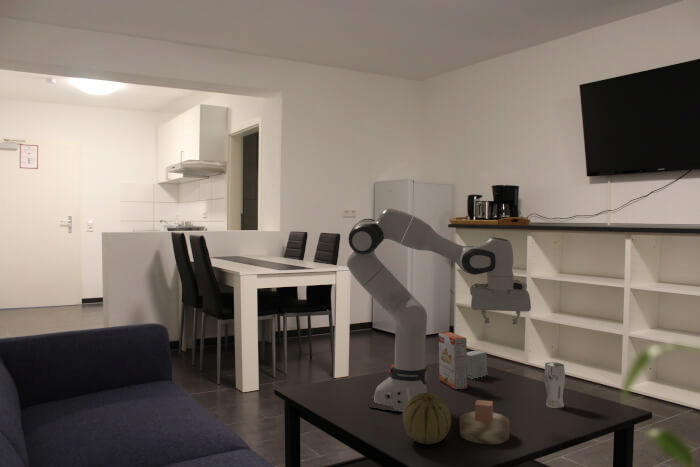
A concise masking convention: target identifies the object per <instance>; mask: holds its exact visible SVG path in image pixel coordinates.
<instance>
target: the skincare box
mask: <svg viewBox="0 0 700 467" xmlns="http://www.w3.org/2000/svg"><path fill="white" fill-rule="evenodd" d="M487 357H488V356H487V351H482V350H472V351H471V350H470V351H467V377H468V378H471V379H473V378H477V379H479V378H478V377H481V378H484V377H487V376H488V363H487V362H488V361H487V360H488V358H487ZM486 375H487V376H486ZM483 376H484V377H483ZM471 379H470V380H471Z"/></svg>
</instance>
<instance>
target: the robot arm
mask: <svg viewBox="0 0 700 467" xmlns="http://www.w3.org/2000/svg"><path fill="white" fill-rule="evenodd" d="M347 240H348V245H349V246H350V248H351V250H352V251H353V252H352V253H351V254H350V255H349V256H348V258H347V262H346V265H347V268H348V270H349V271H350V273H351V274H352V276H353V277H354V278H355V280H356V281H357V282H358V283H359V285H360V286H361V287H362V288H363V289H364V290H365V291H366V292H367V293H368V294H369V295H370V296H371V297H372V299H374V300H375V301H376V303H378V304H379V305H380V307H381V308H383V310H385V311H386V312H387V313H388V315H390V316H391V317H392V319H394V320H395V321H394V322H395V335H394V337H395V338H394V364H392V365H390V368H389V369H388V374H389V377H387V378H386V379H385V380H384V381H382V382H381V383H380V384H378V385H377V386H376V388H375V391H374V396H373V397H374V402H375V403H378V404H383V405H387V406H391V407H393V408H394V409H395V410H399V411H403V412H404V408H405V406H406V404H407V403H408V402H409V400H410V399H411V398H412V397H414V396H416V395H418V394H421V393H428V389H427V382H428V369H427V367H426V341H427V340H426V339H427V330H428V329H427V326H428V313H427V310H426V309H425V307H424V306H423V304H421V303H420V302H419V301H418V300H417V299H416V298H415V297H414V296H413V294H411V292H410V291H409V290H408V289H407V288H406V287H405V286H404V285H403V284H402V283H401V281H400V280H398V278H397V277H396V276H395V275H394V274H393V273H392V272H391V271H390V270H389V269H388V268H387V267H386V266H385V264H383V263H382V262H381V260H379V258H378V257H377V255H376V253H375V251H376V249H377V248H378V247H379V246H380V244H382V242H383V241H384V240H390V241H393V242H395V243H397V244H399V245H402V246H403V247H406V248H409V249H412V250H416V251H426V252H427V251H429V252H432V253H435V254H438V255H441V256H442V257H444V258H447V259H449V260H451V261H452V262H454V263H455V264H456V265H457V266H458V268H460V269H461V270H462V271H463V272H465V273H467V274H470V275H472V276H473V275H474V276H476V275H482V274H486V273H487V275H486V276H487V283H474V284H472V285H471V286H470V288H469V291H470V292H469V293H470V295H471V301H470V302H471V303H470V308H471V310H473V311H481V315H482V317H483V318H484V324H489V323H490V318H489V317H487V315H486V313H487V311H493V312H494V311H497V312H500V311H501V312H515V314H516V316H515V318H512V325H518V319H519V317H520V316H521V312H530V311H531V309H532V303H531V297H530V293H529V291H528V290H527V288H528V285H527V283H526V282H523V281H520V280H518V279H515V278H514V273H513V271H514V270H513V265H514V250H513V245H512V243H511V242H510V240H508V239H505V238H502V237H493V236H492V237H489V238H488V239H487V240H486V241H483V242H482V243H480V244H477V245H461V244H459V243H456V242H454V241H451V240H449V239H448V238H445V237H443V236H441V235H440V234H438V233H437V232H436V231H435V229H433V228H432V226H430V225H429V224H428V223H427V222H425V221H424V220H422V219H421V218H419V217H417V216H414V215H412V214H410V213H408V212H406V211H402V210H398V209H395V208H385V209H384V210H383V211H381V213H380V214H379V215H378V217H377V219H376V220H375V219H373V218H364V219H362V220H360V221H358V222H356V224H354V225H353V227H352V229H351V230H350V232H349V233H348V239H347Z"/></svg>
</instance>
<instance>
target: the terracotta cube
mask: <svg viewBox="0 0 700 467" xmlns="http://www.w3.org/2000/svg"><path fill="white" fill-rule="evenodd" d="M475 400H476V401H475V402H474V411H475V421H483V422H492V419H493V413H494V409H493V408H494V406H493V405H494V403H493V400H480V399H475Z"/></svg>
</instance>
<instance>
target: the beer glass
mask: <svg viewBox="0 0 700 467" xmlns="http://www.w3.org/2000/svg"><path fill="white" fill-rule="evenodd" d="M565 370H566V369H565V364H564V363H560V362H552V361H551V362H545V363H544V384H545V389H546V396H547V397H546V402H545V405H546V407H548V408H551V409H563V408H564V407H565V404H564V399H563V398H564V396H563V395H564V390H565V384H566V383H565V382H566V371H565Z"/></svg>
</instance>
